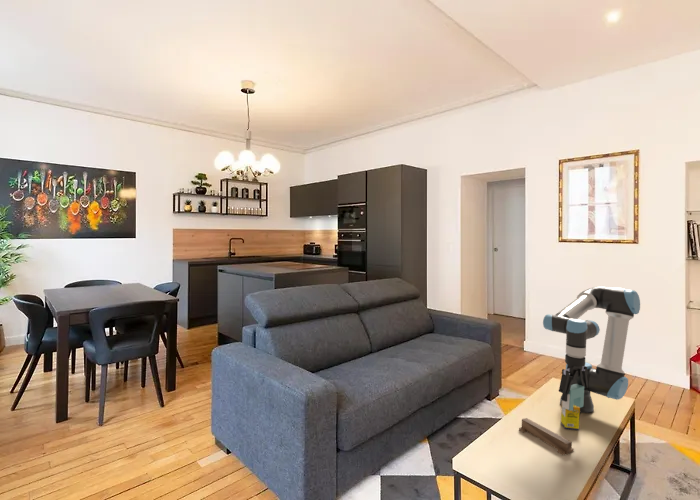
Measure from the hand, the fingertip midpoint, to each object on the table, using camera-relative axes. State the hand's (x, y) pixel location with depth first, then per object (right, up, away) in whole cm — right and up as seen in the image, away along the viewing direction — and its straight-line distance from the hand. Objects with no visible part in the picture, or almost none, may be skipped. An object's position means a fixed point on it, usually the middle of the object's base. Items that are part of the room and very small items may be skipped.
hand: (572, 405), depth 167 cm
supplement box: (+6, -15, +13) cm, 20 cm away
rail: (-12, -15, +1) cm, 19 cm away
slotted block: (0, 0, 0) cm, 0 cm away
